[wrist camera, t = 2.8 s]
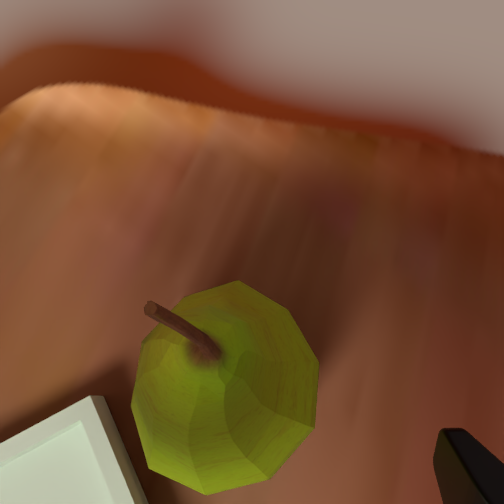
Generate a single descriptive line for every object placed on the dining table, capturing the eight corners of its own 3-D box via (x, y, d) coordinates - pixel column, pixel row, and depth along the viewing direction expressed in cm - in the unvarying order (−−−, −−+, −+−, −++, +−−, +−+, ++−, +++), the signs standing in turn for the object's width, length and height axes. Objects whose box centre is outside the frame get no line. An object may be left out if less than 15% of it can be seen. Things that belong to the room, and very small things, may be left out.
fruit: (273, 506, 17) (304, 729, 5) (121, 432, 18) (-136, 489, 6) (335, 340, 18) (457, 240, 7) (194, 281, 19) (100, 105, 8)
